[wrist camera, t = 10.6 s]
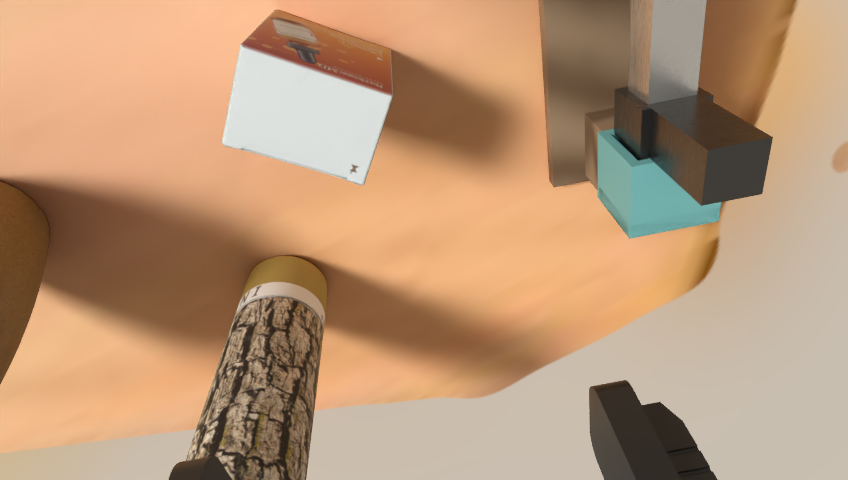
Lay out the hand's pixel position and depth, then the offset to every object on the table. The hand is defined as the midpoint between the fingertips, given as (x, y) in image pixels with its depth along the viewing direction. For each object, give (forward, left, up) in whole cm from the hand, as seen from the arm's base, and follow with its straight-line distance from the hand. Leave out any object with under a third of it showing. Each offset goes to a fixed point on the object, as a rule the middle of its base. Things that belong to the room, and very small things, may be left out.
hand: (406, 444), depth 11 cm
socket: (+8, +16, -25) cm, 31 cm away
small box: (-1, -4, -30) cm, 31 cm away
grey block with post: (-1, +16, -25) cm, 29 cm away
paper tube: (+16, -12, -30) cm, 36 cm away
